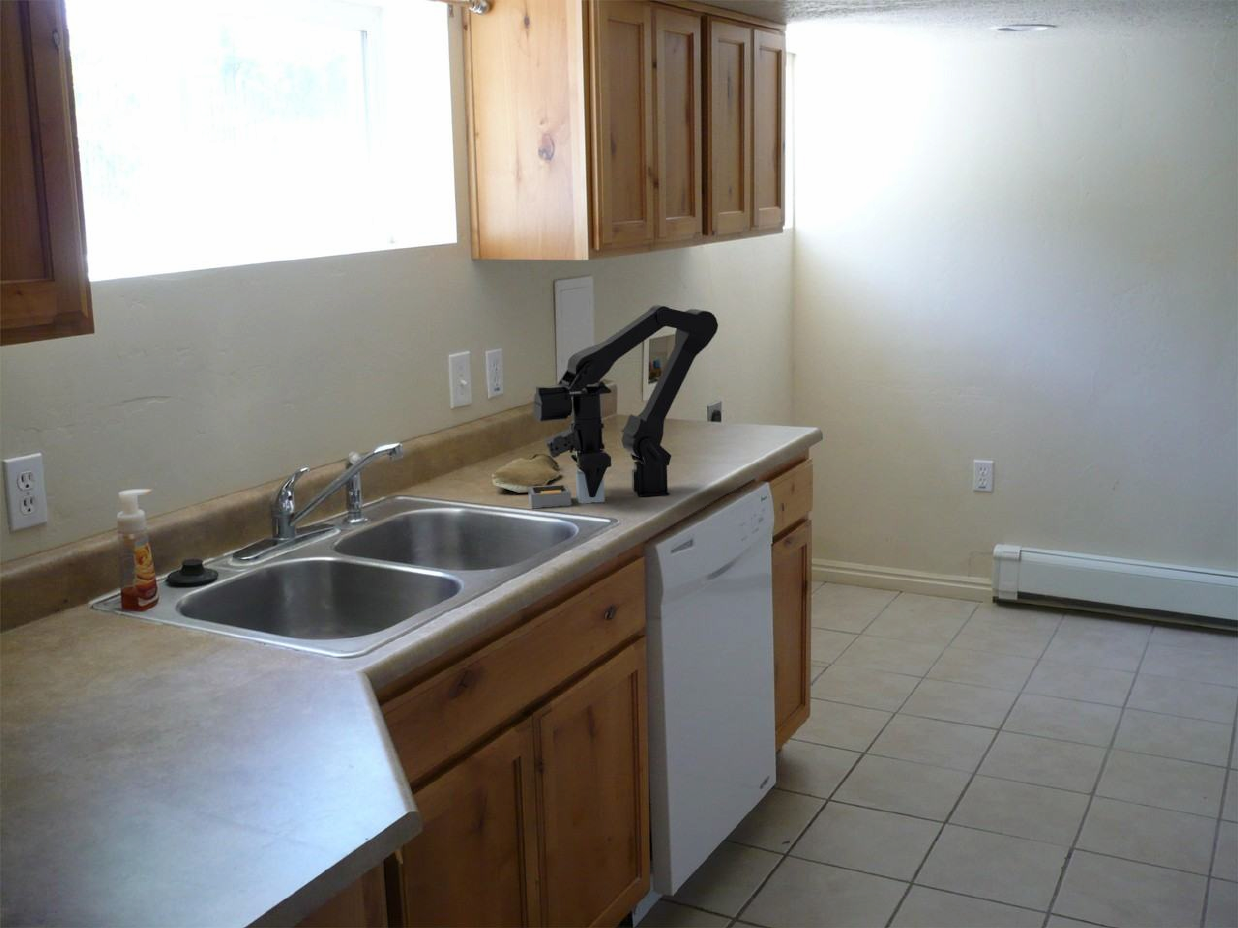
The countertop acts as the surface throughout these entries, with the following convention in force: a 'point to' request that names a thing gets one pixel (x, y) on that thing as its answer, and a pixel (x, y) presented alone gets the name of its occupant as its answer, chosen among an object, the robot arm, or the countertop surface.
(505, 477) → the stone tool
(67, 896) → the countertop surface
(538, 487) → the rack
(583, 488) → the pale blue upright block
